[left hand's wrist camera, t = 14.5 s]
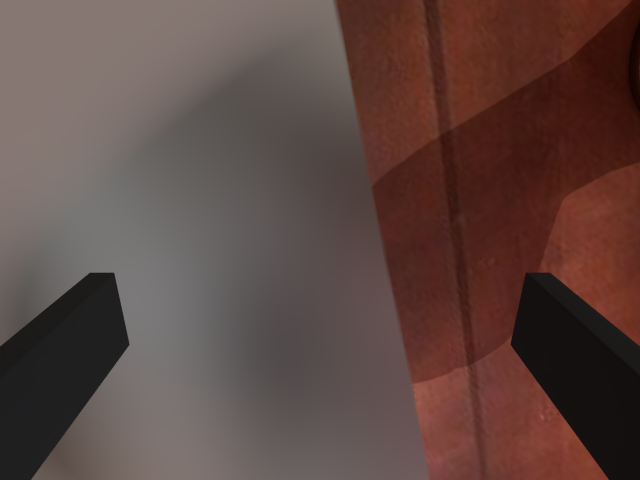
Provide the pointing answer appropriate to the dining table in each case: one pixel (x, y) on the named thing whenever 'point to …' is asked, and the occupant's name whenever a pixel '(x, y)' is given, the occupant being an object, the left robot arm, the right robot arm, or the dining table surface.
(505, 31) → the dining table surface
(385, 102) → the dining table surface
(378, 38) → the dining table surface
